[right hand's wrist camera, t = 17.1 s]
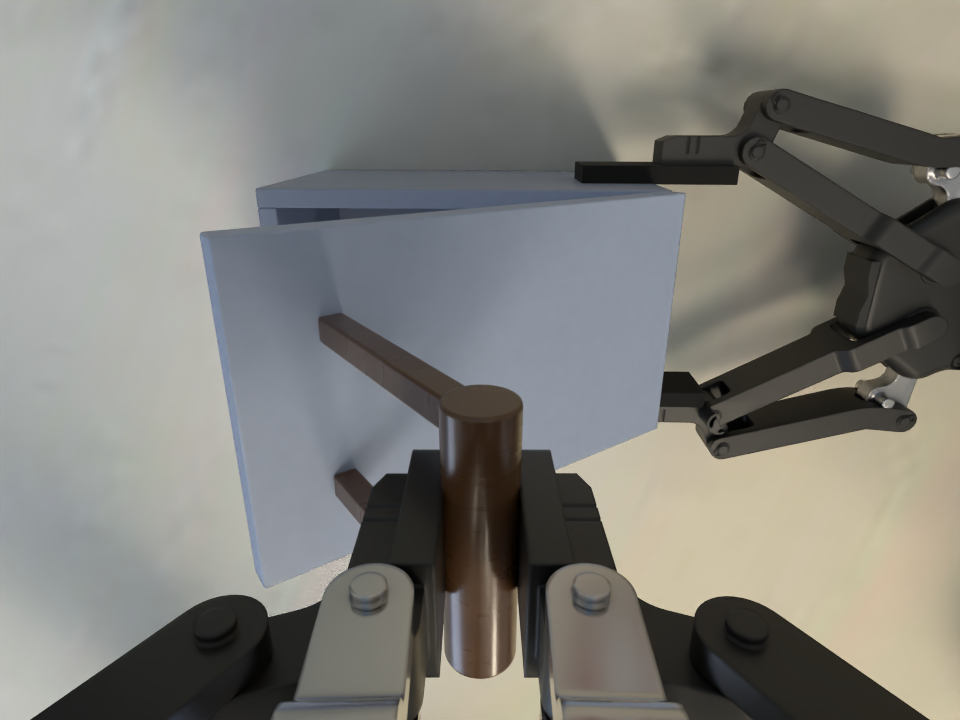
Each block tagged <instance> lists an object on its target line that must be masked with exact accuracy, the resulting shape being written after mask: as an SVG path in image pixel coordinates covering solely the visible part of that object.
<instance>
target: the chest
mask: <svg viewBox="0 0 960 720" xmlns="http://www.w3.org/2000/svg"><path fill="white" fill-rule="evenodd" d="M574 175H575V171H417V170H325V171H322V172H318V173H314V174H310V175H306V176H303V177H299V178H295V179H291V180H287V181H283V182H279V183H276V184H272V185H268V186H264V187H260V188H257V189H256V196H257V204H258V207H259V208H258V212H259V220H260V227H264V226H276V225H287V224H298V223H310V222H321V221H333V220H344V219H355V218H367V217H378V216H390V215H401V214H412V213H424V212H435V211H447V210H458V209H469V208H481V207H492V206H504V205H515V204H526V203H538V202H549V201H561V200H572V199H583V198H595V197H606V196H618V195H629V194H640V193H652V192H663V191H671V190H668V189H666V188H663V187H660V186H658V185H655V184H594V183H580V182H579V181H578V180H576V179H575V178H574ZM671 192H672V191H671Z"/></svg>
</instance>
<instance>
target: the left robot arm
mask: <svg viewBox="0 0 960 720" xmlns="http://www.w3.org/2000/svg"><path fill="white" fill-rule="evenodd" d="M743 109H744V113H743V115H742V118H741V120H740V122H739V123H738V125H737V127H736V128H735V129H734V130H733V131H731V132H730V133H728V134H726V135H720V136H707V135H666V136H664V137H661V138H659V139H656V140H655V143H654V153H653V162H575V175H574V178H575V179H576V180H578V181H579V182H580V183H594V184H692V185H737V181H738V175H739V170H741V171H742V172H744V173H746V174H747V175H749V176H750V177H752V178H754V179H755V180H757V181H758V182H760V183H761V184H763V185H765V186H766V187H768V188H769V189H771V190H772V191H774V192H776V193H777V194H779V195H780V196H782V197H784V198H785V199H787V200H788V201H790V202H791V203H793V204H795V205H796V206H798V207H799V208H801V209H803V210H804V211H806V212H807V213H809V214H810V215H812V216H814V217H815V218H817V219H818V220H820V221H821V222H823V223H825V224H826V225H828V226H829V227H831V228H832V229H833V230H834V231H835V232H836V233H838V234H839V235H841V236H842V237H844V238H846V239H847V240H849V241H850V242H852V243H853V244H855V245H857V247H856V249H855V250H854V252H848V253H847V258H846V262H845V266H844V276H845V285H844V287H843V289H842V291H841V293H840V295H839V297H838V299H837V302H836V306H835V311H834V315H835V316H836V317H835V318H833V319H830V320H828V321H826V322H824V323H822V324H820V325H817V326H816V327H814V328H813V329H812V331H811V333H810V334H809V335H807V336H805V337H803V338H801V339H799V340H796V341H794V342H792V343H790V344H788V345H785V346H783V347H781V348H779V349H777V350H774V351H772V352H770V353H768V354H766V355H763V356H761V357H759V358H757V359H755V360H753V361H750V362H748V363H746V364H744V365H742V366H739V367H737V368H735V369H733V370H731V371H728V372H726V373H724V374H722V375H720V376H718V377H715V378H713V379H711V380H709V381H707V382H704V383H702V384H700V385H698V383H697V382H696V381H695V379H694V378H693V377H692V376H691V374H690V373H689V372H664V374H663V382H662V390H661V398H660V406H659V415H658V422H690V423H695V424H696V431H697V433H698V435H699V436H700V438H701V439H702V441H703V442H704V444H705V445H706V447H707V448H708V450H709V452H710V453H711V455H712V456H713V457H715V458H717V459H726V458H731V457H735V456H740V455H745V454H750V453H754V452H759V451H764V450H769V449H773V448H778V447H783V446H788V445H792V444H797V443H802V442H807V441H811V440H816V439H821V438H825V437H830V436H835V435H840V434H844V433H849V432H854V431H859V430H863V429H871V430H883V431H894V432H905V431H907V430H910V429H911V428H912V427H913V426H914V425H915V423H916V420H917V417H916V414H915V413H914V412H913V411H911V410H910V409H908V408H907V404H908V402H909V399H910V396H911V394H912V391H913V388H914V386H915V383H916V381H917V379H919V378H924V377H927V376H929V375H931V374H934V373H936V372H939V371H943V370H960V134H934V135H933V134H930V133H927V132H923V131H920V130H917V129H914V128H911V127H907V126H904V125H901V124H898V123H895V122H891V121H888V120H885V119H882V118H879V117H875V116H872V115H869V114H866V113H863V112H859V111H856V110H853V109H850V108H847V107H843V106H840V105H837V104H834V103H830V102H827V101H824V100H821V99H818V98H814V97H811V96H808V95H805V94H802V93H798V92H795V91H792V90H789V89H776V90H768V91H761V92H756V93H753V94H751V95H750V96H749V97H748V98H747V100H746V101H745V103H744V108H743ZM779 129H780V130H783V131H786V132H790V133H793V134H796V135H799V136H803V137H806V138H809V139H813V140H816V141H819V142H822V143H826V144H829V145H832V146H835V147H839V148H842V149H845V150H848V151H852V152H855V153H858V154H861V155H865V156H868V157H871V158H875V159H878V160H881V161H885V162H889V163H894V164H904V165H912V166H911V168H910V172H911V174H913V176H914V179H915V180H916V181H917V182H919V183H922V184H927V185H929V186H930V187H931V188H932V190H933V198H930V199H928V200H927V201H925V202H923V203H922V204H920V205H918V206H917V207H915V208H913V209H912V210H910V211H908V212H907V213H905V214H904V215H902V216H900V217H899V218H897V219H894V218H892V217H889V216H887V215H885V214H883V213H881V212H879V211H877V210H876V209H874V208H873V207H871V206H870V205H868V204H867V203H865V202H863V201H862V200H860V199H859V198H857V197H856V196H854V195H853V194H851V193H850V192H848V191H847V190H845V189H843V188H842V187H840V186H839V185H837V184H836V183H834V182H833V181H831V180H830V179H828V178H826V177H825V176H823V175H822V174H820V173H819V172H817V171H816V170H814V169H813V168H811V167H809V166H808V165H806V164H805V163H803V162H802V161H800V160H799V159H797V158H796V157H794V156H793V155H791V154H789V153H788V152H786V151H785V150H783V149H782V148H780V147H779V146H777V145H776V144H774V143H772V142H773V140H774V138H775V137H776V135H777V133H778V131H779ZM849 339H852V340H854V341H851V340H849ZM879 362H881V363H882V364H883V365H884V366H886V367H887V369H886V371H885V373H884V374H883V375H882V376H880V377H879V378H876V379H871V380H867V381H866V380H859V381H858V382H857V383H856V386H855V387H856V388H853V387H844V388H835V389H829V390H824V391H820V392H815V393H811V394H806V395H802V396H797V397H792V398H788V399H783V400H780V399H782V398H784V397H787V396H789V395H791V394H794V393H796V392H798V391H800V390H803V389H805V388H807V387H809V386H812V385H814V384H816V383H819V382H821V381H823V380H825V379H828V378H830V377H832V376H834V375H837V374H839V373H842V372H858V371H861V370H863V369H866V368H868V367H870V366H873V365H875V364H877V363H879ZM778 400H779V401H778Z"/></svg>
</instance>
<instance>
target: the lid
mask: <svg viewBox="0 0 960 720" xmlns="http://www.w3.org/2000/svg"><path fill="white" fill-rule="evenodd" d="M684 203H685V193H680V192H671V191H663V192H652V193H640V194H629V195H618V196H606V197H595V198H583V199H572V200H561V201H549V202H538V203H526V204H515V205H504V206H492V207H481V208H469V209H458V210H447V211H435V212H424V213H412V214H401V215H390V216H378V217H367V218H355V219H344V220H333V221H321V222H310V223H298V224H287V225H276V226H264V227H253V228H241V229H230V230H219V231H207V232H202V233H200V239H201V245H202V251H203V257H204V263H205V269H206V275H207V281H208V287H209V293H210V299H211V305H212V311H213V317H214V323H215V329H216V335H217V341H218V347H219V353H220V359H221V365H222V371H223V377H224V383H225V389H226V395H227V401H228V407H229V413H230V419H231V425H232V431H233V437H234V443H235V449H236V455H237V461H238V467H239V473H240V479H241V485H242V491H243V497H244V503H245V509H246V515H247V521H248V527H249V534H250V540H251V546H252V552H253V558H254V564H255V570H256V573H257V575H258V577H259V579H260V581H261V583H262V584H263V586H264V588H269V587H271V586H273V585H276V584H278V583H281V582H283V581H286V580H288V579H291V578H293V577H295V576H298V575H300V574H303V573H305V572H308V571H310V570H313V569H315V568H317V567H320V566H322V565H325V564H327V563H330V562H332V561H335V560H337V559H339V558H342V557H344V556H347V555H349V554H352V553H353V549H354V546H355V543H356V539H357V536H358V533H359V529H360V526H361V523H362V521H363V516H364V513H365V509H366V507H367V503H368V499H369V496H370V493H371V489H372V487H373V486H374V485H375V484H376V483H377V482H378V481H379V480H380V479H381V478H382V477H383V476H384V475H385V474H386V473H408V469H409V464H410V459H411V455H412V451H413V449H439V452H440V484H441V488H442V489H443V505H444V544H445V582H446V594H445V608H444V622H443V624H444V648H445V655H446V658H447V660H448V662H449V663H450V665H451V666H452V667H453V668H454V669H455V670H456V671H457V672H459V673H460V674H462V675H464V676H467V677H470V678H476V679H485V678H490V677H494V676H496V675H498V674H500V673H502V672H503V671H505V670H506V669H507V668H508V667H509V665H510V664H511V662H512V661H513V659H514V656H515V652H516V626H517V594H518V592H517V572H518V537H519V503H520V486H521V468H522V449H550V451H551V454H552V459H553V463H554V468H555V470H557V469H559V468H562V467H564V466H566V465H569V464H571V463H574V462H576V461H579V460H581V459H584V458H586V457H588V456H591V455H593V454H596V453H598V452H601V451H603V450H605V449H608V448H610V447H613V446H615V445H618V444H620V443H623V442H625V441H627V440H630V439H632V438H635V437H637V436H640V435H642V434H645V433H647V432H649V431H652V430H654V429H656V428H657V423H658V415H659V406H660V398H661V390H662V382H663V374H664V366H665V358H666V349H667V341H668V333H669V325H670V317H671V309H672V301H673V292H674V284H675V276H676V268H677V260H678V252H679V244H680V235H681V227H682V219H683V211H684Z"/></svg>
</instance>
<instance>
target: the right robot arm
mask: <svg viewBox="0 0 960 720" xmlns="http://www.w3.org/2000/svg"><path fill="white" fill-rule="evenodd" d="M517 592H518V604H519V617H520V630H521V642H522V655H523V667H524V678H539V686H540V695H541V699H540V720H929V719H928V718H926V717H925V716H923V715H922V714H921V713H919V712H918V711H916V710H915V709H913V708H912V707H911V706H909V705H908V704H906V703H905V702H903V701H902V700H900V699H899V698H898V697H896V696H895V695H893V694H892V693H890V692H889V691H888V690H886V689H885V688H883V687H882V686H880V685H879V684H877V683H876V682H875V681H873V680H872V679H870V678H869V677H867V676H866V675H865V674H863V673H862V672H860V671H859V670H857V669H856V668H855V667H853V666H852V665H850V664H849V663H847V662H846V661H844V660H843V659H842V658H840V657H839V656H837V655H836V654H834V653H833V652H832V651H830V650H829V649H827V648H826V647H824V646H823V645H821V644H820V643H819V642H817V641H816V640H814V639H813V638H811V637H810V636H809V635H807V634H806V633H804V632H803V631H801V630H800V629H798V628H797V627H796V626H794V625H793V624H791V623H790V622H788V621H787V620H786V619H784V618H783V617H781V616H780V615H778V614H777V613H775V612H774V611H772V610H771V609H769V608H767V607H765V606H763V605H761V604H759V603H757V602H754V601H751V600H748V599H744V598H739V597H730V596H724V597H716V598H712V599H709V600H707V601H705V602H704V603H702V604H701V605H700V606H699V607H698V609H697V611H696V613H695V617H692V616H688V615H684V614H680V613H676V612H672V611H668V610H664V609H661V608H658V607H655V606H653V605H650V604H648V603H646V602H644V601H643V600H641V599H639V598H638V597H637V594H636V592H635V589H634V588H633V586H632V585H631V583H630V582H629V581H628V580H627V579H626V578H625V577H623V576H622V575H621V574H619V573H618V572H617V570H616V567H615V563H614V560H613V557H612V554H611V550H610V547H609V544H608V541H607V537H606V534H605V531H604V528H603V524H602V521H601V520H600V515H599V511H598V508H596V502H595V498H594V495H593V492H592V489H591V487H590V486H589V485H588V484H587V483H586V482H585V481H584V480H583V479H582V478H581V477H580V476H579V475H578V474H577V473H555V468H554V463H553V459H552V454H551V451H550V449H522V468H521V486H520V503H519V537H518V572H517ZM445 594H446V582H445V544H444V505H443V489H442V488H441V484H440V452H439V449H413V451H412V455H411V459H410V464H409V469H408V473H386V474H385V475H384V476H383V477H382V478H381V479H380V480H379V481H378V482H377V483H376V484H375V485H374V486H373V487H372V489H371V493H370V496H369V499H368V503H367V507H366V509H365V513H364V516H363V521H362V523H361V526H360V529H359V533H358V536H357V539H356V543H355V546H354V549H353V553H352V556H351V559H350V563H349V566H348V569H347V570H346V571H344V572H342V573H341V574H339V575H338V576H337V577H335V578H334V579H333V580H332V581H331V582H330V583H329V585H328V586H327V588H326V589H325V592H324V594H323V598H322V600H321V601H320V602H318V603H316V604H314V605H311V606H309V607H306V608H303V609H300V610H296V611H292V612H288V613H284V614H280V615H276V616H272V617H268V614H267V611H266V609H265V607H264V606H263V604H262V603H261V602H259V601H258V600H256V599H254V598H252V597H248V596H244V595H226V596H220V597H216V598H212V599H209V600H207V601H204V602H202V603H200V604H198V605H196V606H194V607H192V608H191V609H189V610H187V611H186V612H185V613H183V614H182V615H180V616H179V617H177V618H176V619H174V620H173V621H172V622H170V623H169V624H167V625H166V626H164V627H163V628H162V629H160V630H159V631H157V632H156V633H154V634H153V635H151V636H150V637H149V638H147V639H146V640H144V641H143V642H141V643H140V644H139V645H137V646H136V647H134V648H133V649H131V650H130V651H129V652H127V653H126V654H124V655H123V656H121V657H120V658H118V659H117V660H116V661H114V662H113V663H111V664H110V665H108V666H107V667H106V668H104V669H103V670H101V671H100V672H98V673H97V674H95V675H94V676H93V677H91V678H90V679H88V680H87V681H85V682H84V683H83V684H81V685H80V686H78V687H77V688H75V689H74V690H72V691H71V692H70V693H68V694H67V695H65V696H64V697H62V698H61V699H60V700H58V701H57V702H55V703H54V704H52V705H51V706H49V707H48V708H47V709H45V710H44V711H42V712H41V713H39V714H38V715H37V716H35V717H34V718H32V719H31V720H420V708H421V706H422V702H423V696H424V686H425V677H440V663H441V649H442V635H443V622H444V608H445Z"/></svg>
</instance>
